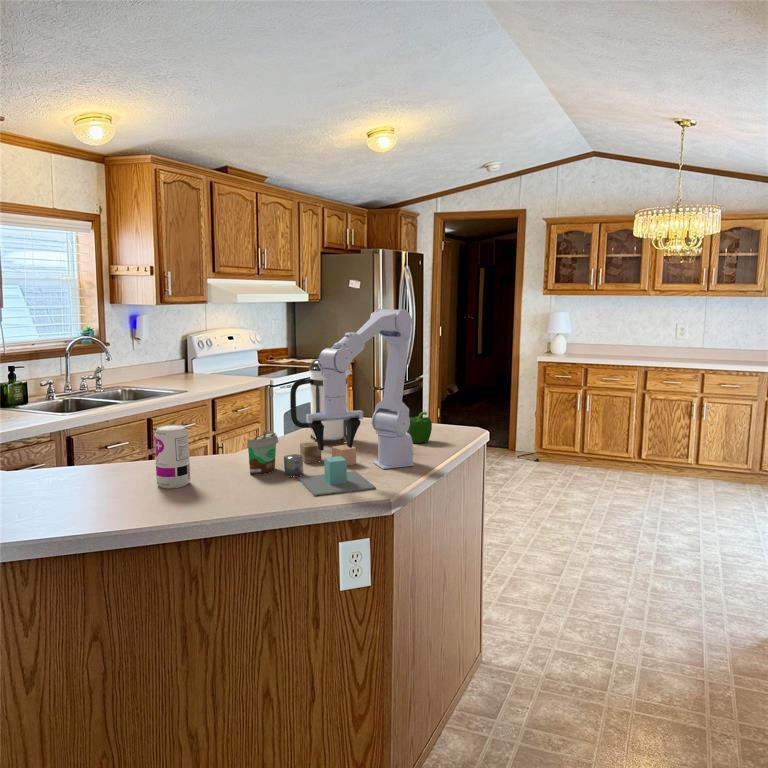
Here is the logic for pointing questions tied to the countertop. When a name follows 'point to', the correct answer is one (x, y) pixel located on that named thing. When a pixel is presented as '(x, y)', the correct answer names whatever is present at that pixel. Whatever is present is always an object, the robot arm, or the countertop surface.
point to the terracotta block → (345, 453)
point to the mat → (321, 487)
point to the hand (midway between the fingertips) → (335, 448)
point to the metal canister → (293, 465)
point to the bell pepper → (420, 428)
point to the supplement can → (172, 456)
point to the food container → (262, 453)
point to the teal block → (335, 470)
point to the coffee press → (318, 405)
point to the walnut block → (310, 452)
